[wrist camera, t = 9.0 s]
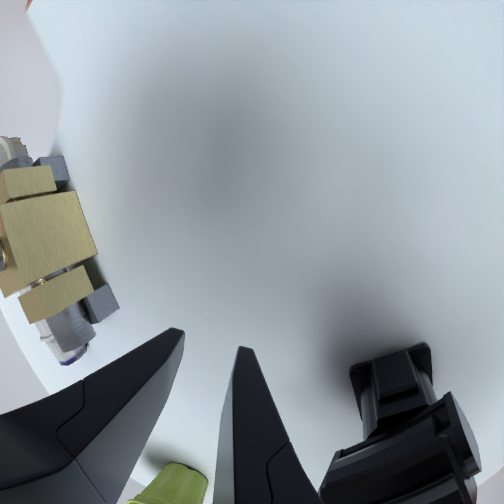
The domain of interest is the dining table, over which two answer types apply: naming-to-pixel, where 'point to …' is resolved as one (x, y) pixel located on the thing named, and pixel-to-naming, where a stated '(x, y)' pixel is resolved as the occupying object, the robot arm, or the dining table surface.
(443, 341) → the dining table surface
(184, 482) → the plant pot
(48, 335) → the white flashlight
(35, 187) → the valve
